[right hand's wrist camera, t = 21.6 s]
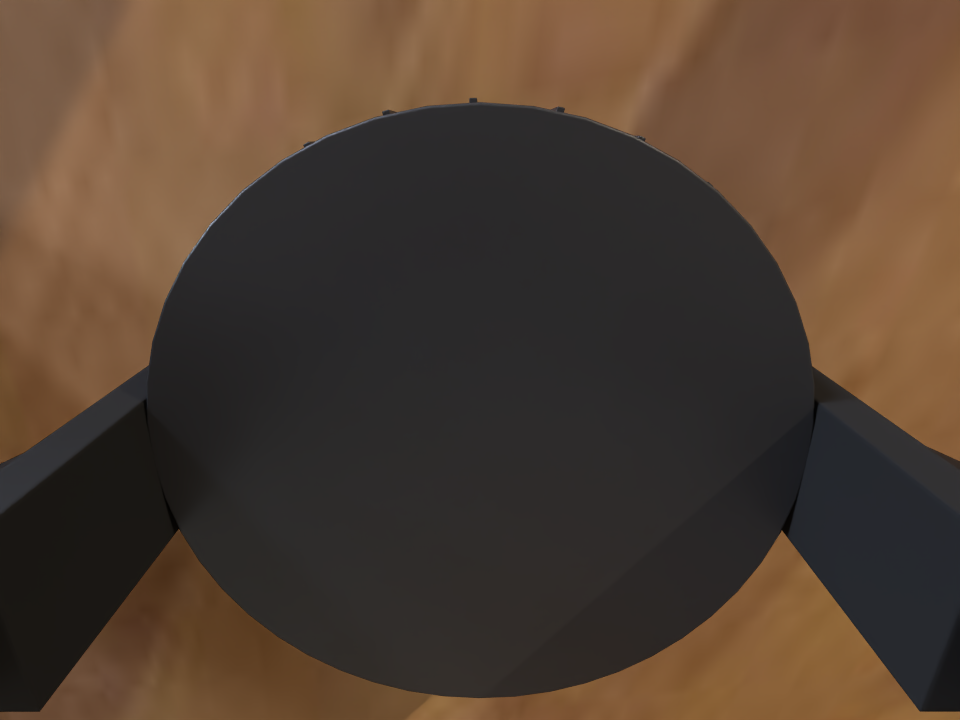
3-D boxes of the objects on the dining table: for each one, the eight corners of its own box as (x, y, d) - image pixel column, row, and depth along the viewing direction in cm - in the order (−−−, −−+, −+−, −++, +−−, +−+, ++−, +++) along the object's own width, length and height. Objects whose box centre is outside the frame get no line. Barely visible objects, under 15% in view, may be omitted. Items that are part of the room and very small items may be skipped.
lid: (753, 601, 14) (795, 674, 12) (278, 647, 14) (247, 723, 12) (781, 59, 9) (852, 40, 8) (112, 154, 10) (29, 158, 8)
